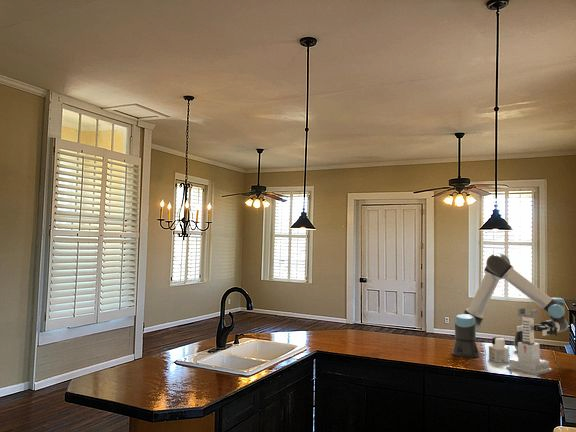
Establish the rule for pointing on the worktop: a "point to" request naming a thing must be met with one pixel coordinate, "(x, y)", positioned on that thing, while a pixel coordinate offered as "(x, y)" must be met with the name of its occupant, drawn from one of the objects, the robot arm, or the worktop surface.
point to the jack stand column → (528, 324)
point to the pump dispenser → (518, 339)
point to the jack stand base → (529, 360)
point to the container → (498, 350)
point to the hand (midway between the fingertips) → (529, 331)
